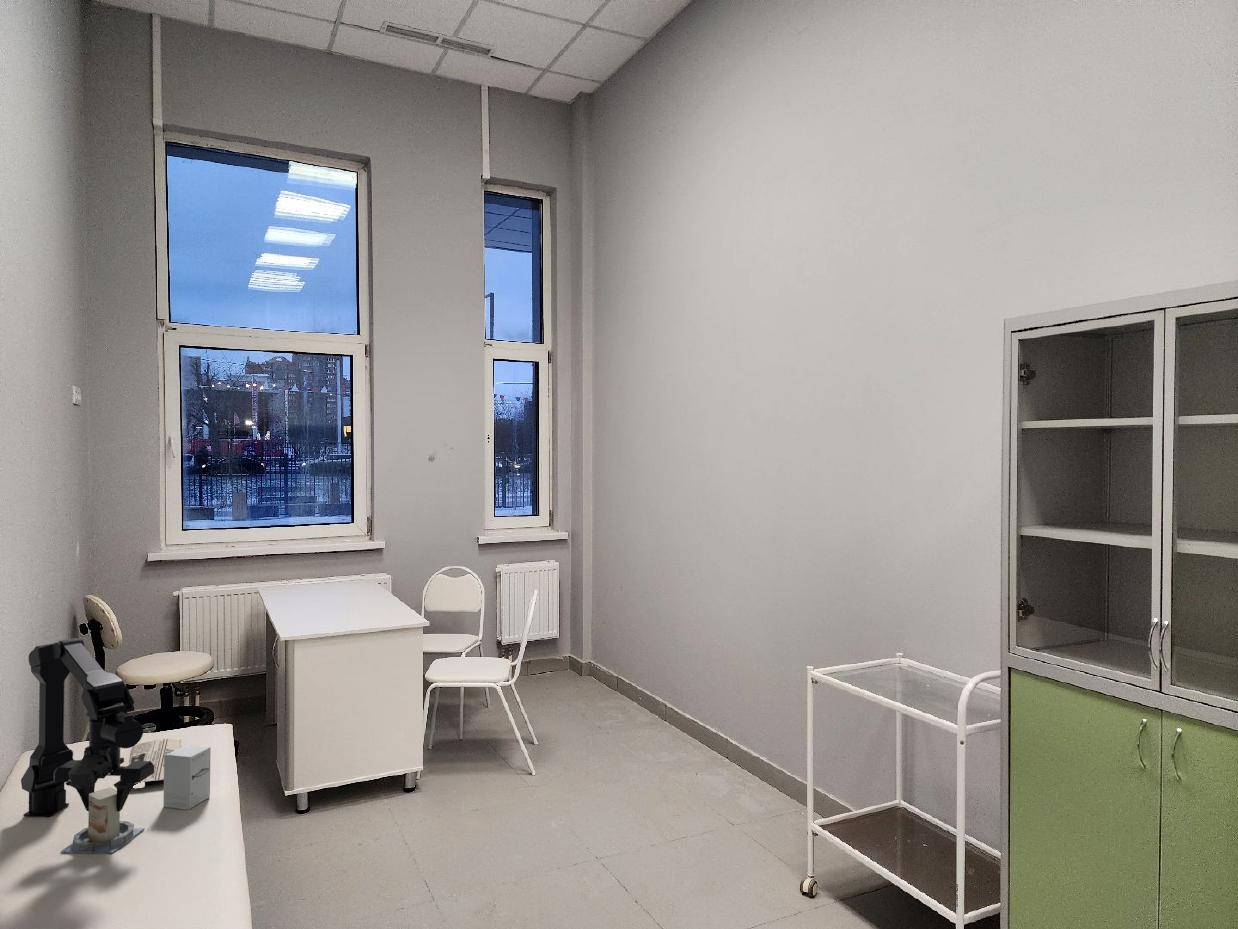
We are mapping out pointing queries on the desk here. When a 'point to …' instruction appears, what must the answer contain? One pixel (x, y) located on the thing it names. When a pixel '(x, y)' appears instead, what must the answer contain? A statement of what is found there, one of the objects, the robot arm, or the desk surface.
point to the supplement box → (186, 777)
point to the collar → (103, 847)
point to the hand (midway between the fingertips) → (104, 810)
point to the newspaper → (154, 755)
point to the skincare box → (103, 815)
